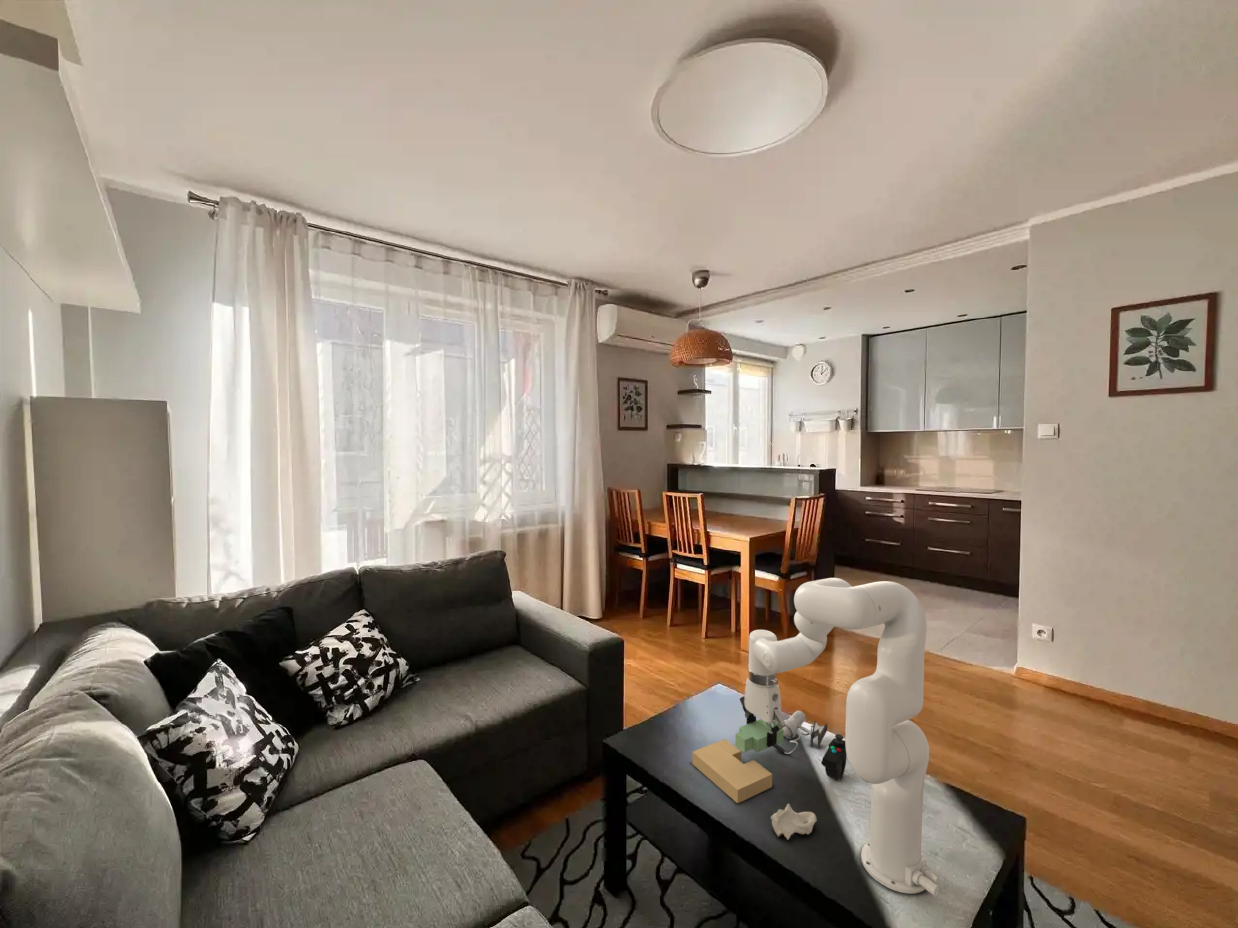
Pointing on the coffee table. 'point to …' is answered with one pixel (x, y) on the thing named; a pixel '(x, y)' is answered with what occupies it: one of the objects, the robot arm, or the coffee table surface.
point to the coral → (792, 822)
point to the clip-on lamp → (796, 723)
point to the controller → (835, 758)
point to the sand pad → (731, 770)
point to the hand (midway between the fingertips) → (761, 737)
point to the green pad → (755, 736)
